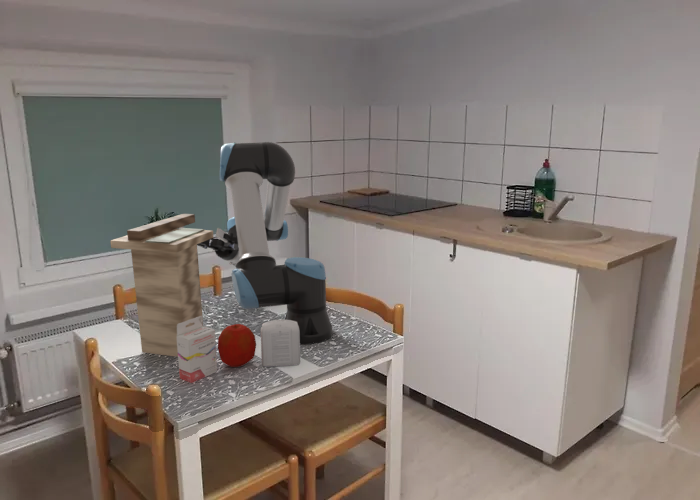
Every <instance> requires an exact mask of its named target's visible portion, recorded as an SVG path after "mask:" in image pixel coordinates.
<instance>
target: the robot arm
mask: <svg viewBox="0 0 700 500" xmlns="http://www.w3.org/2000/svg"><path fill="white" fill-rule="evenodd" d="M219 159H220V160H219V161H220V162H219V181H220V182H224V184H225V186H226V189H228V190H230V191H231V199H232V206H233V215H234V216H232V217H230V218H229V219H228V220H227V223H226V224H227V225H226V226H227V227H226V228H227V232H226V231H225V230H223V229H221V227H216V233H215V237H216V238H215V237H214V238H211V239H209V240H206V241H204V242H201V243H199V244H197V247H200V248H203V249H211V250H213V251H214V253H215V254H216V256H217V257H218V258H220V259H222V260H224V261H225V262H227V263H229V265H233V267H235V268H234V269H232V270H231V281H232V286H233V292H234V295H235V298H236V301H237V304H238V305H239V307H240V308H242V309H244V310H246V309H256V310H257V309H260V308H268V307H269V308H270V307H277V306H278V307H279V306H284V305H285V306H286V313H285V317H284V320H292V321H296V322H297V324H298V326H299V331H300V345H309V344H310V345H311V344H312V345H313V344H318V343H321V342H325V341H327V340H328V339H330V338H331V337H332V336H333V325H332V322H331V320H330V317H329V313H328V311H327V295H326V294H327V290H326V287H327V286H326V285H327V284H326V282H327V281H326V280H327V276H326V269H325V268H326V267H325V264H323V263H322V261H319V260H317V259H313V258H311V257H310V258H309V257H299V256H298V257H297V256H295V257H288V258H286V259H285V261H284V264H279V265H277V261H276V259H275V257H274V256H272V255H270V250H269V249H270V248H269V243H268V242H269V241H270V242H272V241H276V242H277V241H282V240H283V241H284V240H287V238H288V237H289V227H288V222H287V221H286V220H285V218H286V217H285V216H286V209H287V205H288V198H289V192H290V187H291V185H292V184H293V183H294V181H295V176H296V166H295V163H294V160H293V158H292V157H291V155H290V153H289V152H288V151H287V150H286V149H285V148H284V147H282V146H281V145H279V144H278V143H276V142H272V141H271V142H270V141H265V142H238V143H237V142H230V143H229V142H228V143H224V144H223V145H221V147H220V158H219ZM264 180H266V181H267V186H266V195H265V202H264V211H263V204H262V199H261V192H260V187H261V186H262V185H263V182H264ZM181 228H185V226H183V227H180V228H178V229H181Z"/></svg>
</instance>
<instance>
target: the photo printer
mask: <svg viewBox="0 0 700 500" xmlns="http://www.w3.org/2000/svg"><path fill="white" fill-rule="evenodd" d="M260 352H261V354H260V355H261V366H262V367H284V366H289V367H290V366H297V365H298V366H299V365H300V363H301V344H300V331H299V326H298V324H297V322H296V321H292V320H285V319H272V320H269V321H265V322H263V323H262V326H261V328H260Z"/></svg>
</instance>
